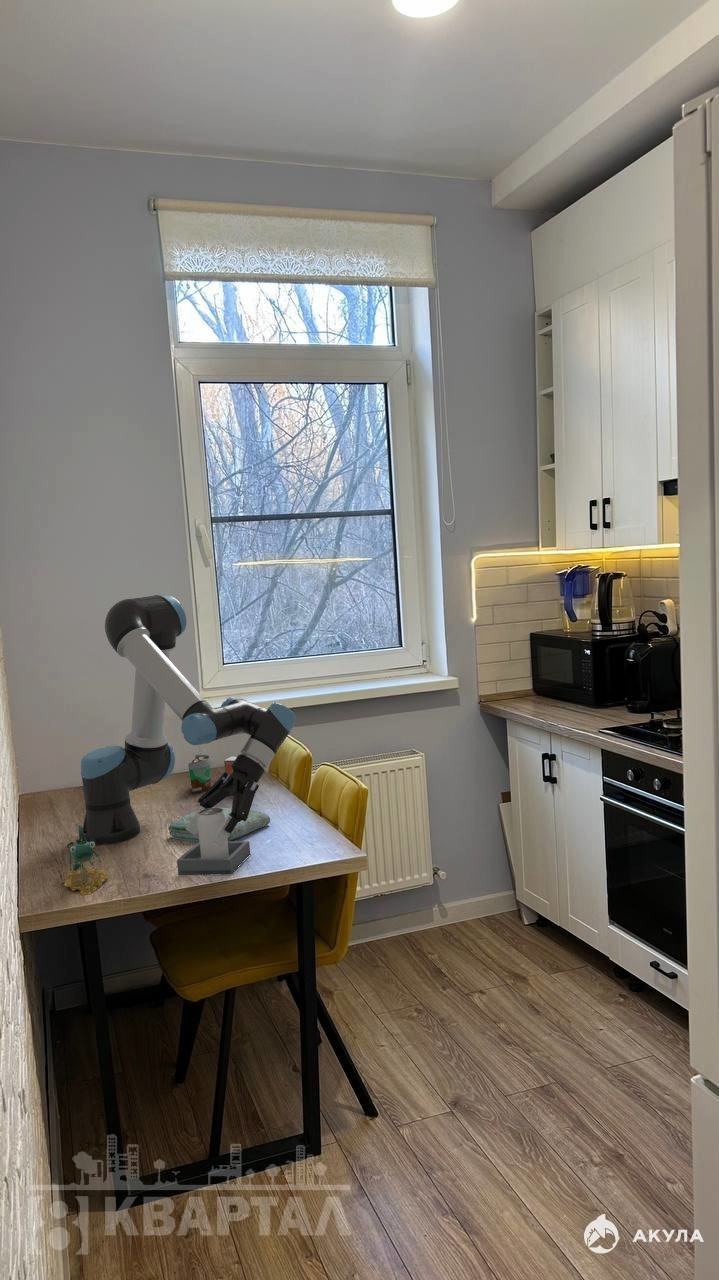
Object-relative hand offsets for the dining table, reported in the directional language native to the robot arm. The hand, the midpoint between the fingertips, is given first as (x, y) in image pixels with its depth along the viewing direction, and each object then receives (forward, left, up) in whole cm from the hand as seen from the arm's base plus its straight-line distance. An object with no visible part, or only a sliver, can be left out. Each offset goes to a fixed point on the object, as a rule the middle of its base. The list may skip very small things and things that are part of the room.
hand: (203, 837), depth 216 cm
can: (+2, +2, -6) cm, 7 cm away
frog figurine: (-26, -9, -8) cm, 29 cm away
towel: (-7, +27, -8) cm, 29 cm away
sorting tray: (+2, +2, -7) cm, 8 cm away
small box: (-15, +67, -7) cm, 69 cm away
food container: (-29, +71, -7) cm, 77 cm away
